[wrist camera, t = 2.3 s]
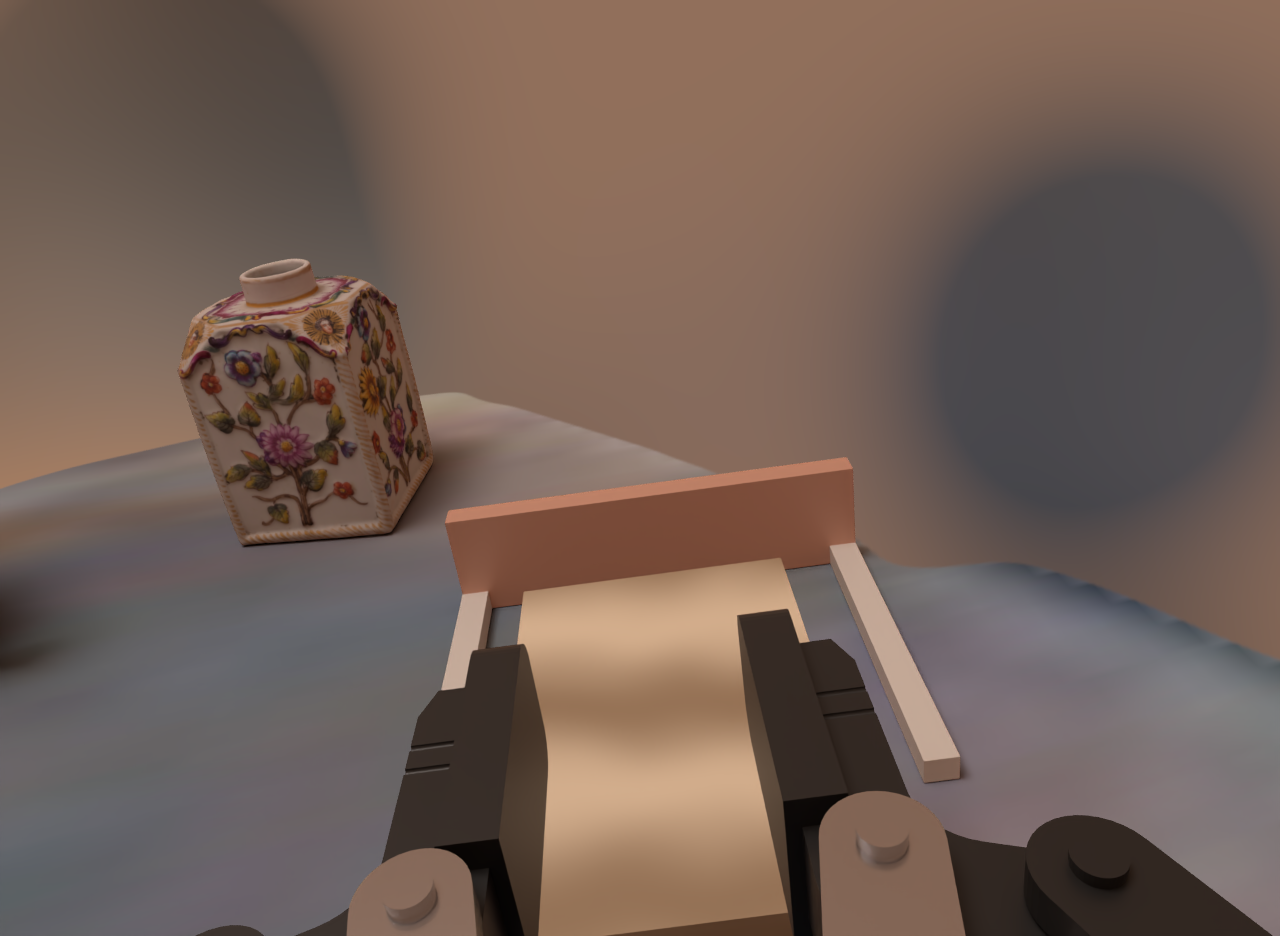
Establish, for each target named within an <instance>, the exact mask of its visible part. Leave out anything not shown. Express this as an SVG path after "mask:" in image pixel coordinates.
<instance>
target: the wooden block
mask: <svg viewBox="0 0 1280 936" xmlns="http://www.w3.org/2000/svg"><path fill="white" fill-rule="evenodd" d="M780 609H788V610H789V612H790V615H791V618H792V621H793V624H794V627H795V630H796V633H797V637H798V640H799V643H803V642H809V639H808V636H807V633H806V630H805V627H804V624H803V621H802V619H801V616H800V613H799V610H798V607H797V604H796V601H795V598H794V595H793V592H792V589H791V586H790V583H789V580H788V577H787V574H786V572H785V569H784V566H783V563H782V560H781V558H774V559H767V560H759V561H752V562H744V563H737V564H729V565H721V566H714V567H706V568H699V569H691V570H684V571H676V572H669V573H661V574H654V575H646V576H639V577H631V578H624V579H616V580H609V581H601V582H594V583H586V584H578V585H571V586H563V587H556V588H548V589H541V590H533V591H526V592H524V594H523V602H522V610H521V619H520V627H519V636H518V644H524V645H525V646H526V649H527V652H528V655H529V660H530V664H531V669H532V673H533V678H534V682H535V687H536V691H537V696H538V700H539V705H540V709H541V714H542V718H543V723H544V728H545V734H546V741H547V751H548V782H547V799H546V816H545V832H544V849H543V866H542V882H541V899H540V916H539V932H538V936H793V934H792V929H791V924H790V920H789V915H788V910H787V906H786V901H785V896H784V892H783V887H782V883H781V878H780V873H779V869H778V864H777V859H776V855H775V850H774V845H773V841H772V836H771V831H770V827H769V822H768V817H767V813H766V808H765V803H764V799H763V794H762V790H761V785H760V780H759V776H758V771H757V766H756V762H755V757H754V752H753V748H752V743H751V738H750V732H749V726H748V719H747V712H746V704H745V695H744V685H743V675H742V666H741V656H740V646H739V636H738V625H737V615H742V614H750V613H757V612H765V611H772V610H780ZM518 644H517V645H518Z"/></svg>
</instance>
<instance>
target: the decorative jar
mask: <svg viewBox="0 0 1280 936" xmlns="http://www.w3.org/2000/svg"><path fill="white" fill-rule="evenodd" d="M240 283H241V286H242V289H243V291H242V292H239V293H237V294H234V295H232V296H231V297H228V298H225V299H222V300H220V301H219V302H217V303H215V304H213V305H211V306H209V307H208V308H206V309H204V310H203V311H201V312H200V313H198V314H197V315H196V316H195V317H194V318H193V319H192V322H191V325H190V329H189V332H188V336H187V339H186V343H185V347H184V350H183V353H182V357H181V363H180V366H179V369H178V373H179V376H180V380H181V383H182V386H183V388H184V391H185V394H186V397H187V400H188V402H189V406H190V409H191V411H192V415H193V417H194V420H195V423H196V426H197V429H198V432H199V435H200V437H201V440H202V443H203V446H204V449H205V452H206V454H207V457H208V460H209V463H210V465H211V468H212V471H213V473H214V476H215V479H216V482H217V484H218V487H219V490H220V492H221V495H222V497H223V501H224V503H225V506H226V508H227V511H228V513H229V516H230V519H231V521H232V524H233V526H234V529H235V531H236V533H237V536H238V539H239V541H240V543H241V544H242V545H249V544H262V543H277V542H288V541H302V540H314V539H329V538H342V537H354V536H365V535H374V534H385V533H390V532H391V531H392V530H393V528H394V527H395V525H396V524H397V522H398V520H399V518H400V517H401V515H402V513H403V512H404V510H405V508H406V507H407V505H408V504H409V502H410V500H411V498H412V497H413V495H414V493H415V492H416V490H417V489H418V487H419V485H420V483H421V482H422V480H423V479H424V477H425V475H426V473H427V472H428V470H429V469H430V467H431V465H432V463H433V452H432V447H431V442H430V438H429V434H428V430H427V425H426V421H425V417H424V413H423V409H422V405H421V401H420V397H419V393H418V390H417V386H416V381H415V377H414V374H413V370H412V366H411V362H410V358H409V355H408V351H407V348H406V344H405V341H404V337H403V333H402V329H401V325H400V321H399V317H398V312H397V310H396V309H397V305H396V304H394V303H393V302H391V301H390V300H389V299H388V298H387V296H385V295H384V294H383V293H382V292H380V291H379V290H377V289H376V288H375V287H374V286H373V285H372V284H370V283H368V282H366V281H362V280H360V279H357V278H354V277H348V276H331V277H314V275H313V271H312V269H311V265H310V263H309V262H308V261H307V260H303V259H288V260H282V261H277V262H272V263H268V264H264V265H261V266H258V267H255V268H252V269H250V270H248V271H247V272H245V273H243V274H241V275H240Z"/></svg>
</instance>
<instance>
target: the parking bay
mask: <svg viewBox="0 0 1280 936" xmlns="http://www.w3.org/2000/svg"><path fill="white" fill-rule="evenodd" d="M445 525H446V529H447V533H448V537H449V541H450V545H451V549H452V553H453V557H454V561H455V565H456V569H457V573H458V577H459V581H460V585H461V589H462V593H463V596H462V600H461V605H460V609H459V614H458V618H457V623H456V627H455V632H454V636H453V641H452V645H451V650H450V654H449V659H448V663H447V668H446V672H445V677H444V681H443V685H442V690H449V689H456V688H464V687H465V682H466V677H467V672H468V666H469V661H470V656H471V653H472V651H473V650H480V649H485V648H486V642H487V636H488V630H489V624H490V619H491V613H492V608H497V607H505V606H512V605H520V604H522V602H523V594H524V592H526V591H533V590H541V589H548V588H556V587H563V586H571V585H578V584H586V583H594V582H601V581H609V580H616V579H624V578H631V577H639V576H646V575H654V574H661V573H669V572H676V571H684V570H691V569H699V568H706V567H714V566H721V565H729V564H737V563H744V562H752V561H759V560H767V559H774V558H781V560H782V563H783V566H784V569H792V568H799V567H807V566H814V565H822V564H829V563H830V564H831V566H832V568H833V571H834V573H835V575H836V578H837V580H838V583H839V585H840V587H841V590H842V592H843V594H844V597H845V599H846V601H847V604H848V606H849V608H850V611H851V613H852V615H853V618H854V620H855V622H856V625H857V627H858V629H859V632H860V634H861V636H862V639H863V641H864V644H865V646H866V648H867V651H868V653H869V655H870V658H871V660H872V662H873V665H874V667H875V669H876V672H877V674H878V676H879V679H880V681H881V683H882V686H883V688H884V690H885V693H886V695H887V697H888V700H889V702H890V705H891V707H892V709H893V712H894V714H895V716H896V719H897V721H898V723H899V726H900V728H901V730H902V733H903V735H904V737H905V740H906V742H907V744H908V747H909V749H910V751H911V754H912V756H913V758H914V761H915V763H916V766H917V768H918V770H919V773H920V775H921V777H922V780H923V782H924V783H928V782H935V781H943V780H951V779H959V778H960V755H959V753H958V751H957V749H956V747H955V745H954V743H953V741H952V739H951V737H950V735H949V733H948V731H947V729H946V727H945V725H944V723H943V721H942V718H941V716H940V714H939V712H938V710H937V708H936V706H935V704H934V702H933V700H932V698H931V696H930V694H929V692H928V690H927V688H926V686H925V684H924V682H923V680H922V678H921V676H920V674H919V672H918V669H917V667H916V665H915V663H914V661H913V659H912V657H911V655H910V653H909V651H908V649H907V647H906V645H905V643H904V641H903V639H902V637H901V635H900V633H899V631H898V629H897V627H896V625H895V623H894V620H893V618H892V616H891V614H890V612H889V610H888V608H887V606H886V604H885V602H884V600H883V598H882V596H881V594H880V592H879V590H878V588H877V586H876V584H875V582H874V580H873V578H872V576H871V574H870V571H869V569H868V567H867V565H866V563H865V561H864V559H863V557H862V555H861V553H860V551H859V549H858V547H857V545H856V543H855V519H854V489H853V468H852V466H851V465H850V463H849V461H848V459H847V457H844V458H838V459H829V460H822V461H814V462H807V463H799V464H792V465H785V466H777V467H770V468H762V469H755V470H748V471H740V472H733V473H725V474H717V475H710V476H703V477H695V478H688V479H680V480H673V481H665V482H658V483H650V484H643V485H635V486H628V487H621V488H613V489H606V490H598V491H591V492H583V493H576V494H568V495H561V496H553V497H546V498H539V499H531V500H524V501H516V502H509V503H501V504H494V505H486V506H479V507H471V508H464V509H457V510H449V511H448V514H447V518H446V521H445Z"/></svg>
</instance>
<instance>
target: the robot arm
mask: <svg viewBox="0 0 1280 936" xmlns="http://www.w3.org/2000/svg"><path fill="white" fill-rule="evenodd" d="M737 625H738V636H739V646H740V656H741V666H742V675H743V685H744V695H745V704H746V712H747V719H748V726H749V732H750V738H751V743H752V748H753V752H754V757H755V762H756V766H757V771H758V776H759V780H760V785H761V790H762V794H763V799H764V803H765V808H766V813H767V817H768V822H769V827H770V831H771V836H772V841H773V845H774V850H775V855H776V859H777V864H778V869H779V873H780V878H781V883H782V887H783V892H784V896H785V901H786V906H787V910H788V915H789V920H790V924H791V929H792V934H793V936H1272V935H1271V934H1270V933H1268V932H1267V931H1266V930H1264V929H1263V928H1262V927H1261V926H1259V925H1258V924H1257V923H1255V922H1254V921H1253V920H1251V919H1250V918H1249V917H1247V916H1246V915H1245V914H1244V913H1242V912H1241V911H1240V910H1238V909H1237V908H1236V907H1234V906H1233V905H1232V904H1230V903H1229V902H1228V901H1227V900H1225V899H1224V898H1223V897H1221V896H1220V895H1219V894H1217V893H1216V892H1215V891H1213V890H1212V889H1211V888H1210V887H1208V886H1207V885H1206V884H1204V883H1203V882H1202V881H1200V880H1199V879H1198V878H1196V877H1195V876H1194V875H1193V874H1191V873H1190V872H1189V871H1187V870H1186V869H1185V868H1183V867H1182V866H1181V865H1179V864H1178V863H1177V862H1176V861H1174V860H1173V859H1172V858H1170V857H1169V856H1168V855H1166V854H1165V853H1164V852H1162V851H1161V850H1160V849H1159V848H1157V847H1156V846H1155V845H1153V844H1152V843H1151V842H1149V841H1148V840H1147V839H1145V838H1144V837H1143V836H1141V835H1140V834H1138V833H1137V832H1135V831H1133V830H1131V829H1129V828H1128V827H1126V826H1124V825H1121V824H1119V823H1116V822H1113V821H1111V820H1107V819H1103V818H1099V817H1093V816H1083V815H1073V816H1064V817H1060V818H1056V819H1053V820H1051V821H1049V822H1046V823H1045V824H1043V825H1042V826H1040V827H1039V828H1038V829H1037V830H1036V831H1035V832H1034V833H1033V834H1032V836H1031V837H1030V839H1029V841H1028V844H1027V848H1025V847H1018V846H1010V845H1003V844H996V843H989V842H982V841H977V840H972V839H968V838H965V837H962V836H958V835H956V834H953V833H951V832H949V831H947V830H945V829H944V828H943V826H942V824H941V823H940V821H939V820H938V819H937V817H936V816H935V815H934V814H933V813H932V812H931V811H930V810H929V809H928V808H927V807H925V806H924V805H922V804H921V803H919V802H917V801H915V800H913V799H911V798H910V796H909V794H908V792H907V789H906V787H905V784H904V782H903V779H902V777H901V774H900V772H899V769H898V767H897V764H896V762H895V759H894V757H893V755H892V752H891V750H890V747H889V745H888V742H887V740H886V737H885V735H884V732H883V730H882V727H881V725H880V722H879V720H878V717H877V715H876V713H875V712H874V707H873V705H872V702H871V700H870V697H869V695H868V692H866V689H865V685H864V682H863V680H862V677H861V675H860V672H859V670H858V667H857V665H856V662H855V660H854V659H853V658H852V657H851V656H850V655H848V654H847V653H846V652H845V651H844V650H843V649H842V648H840V647H839V646H838V645H837V644H836V643H835V642H834V641H832V640H831V639H826V640H819V641H811V642H803V643H799V640H798V637H797V633H796V630H795V627H794V624H793V621H792V618H791V615H790V612H789V610H788V609H780V610H772V611H765V612H757V613H750V614H742V615H737ZM405 771H406V775H404V776H403V780H402V784H401V788H400V792H399V796H398V800H397V804H396V808H395V812H394V816H393V820H392V824H391V828H390V832H389V836H388V841H387V845H386V849H385V853H384V857H383V861H382V864H381V865H380V866H378V867H377V868H376V869H375V870H373V871H372V872H371V873H370V874H369V875H368V876H367V877H366V878H365V879H364V880H363V882H362V883H361V884H360V886H359V887H358V888H357V890H356V892H355V894H354V896H353V898H352V900H351V903H350V906H349V908H348V909H347V910H345V911H344V912H343V913H341V914H340V915H338V916H337V917H335V918H333V919H332V920H330V921H328V922H326V923H324V924H322V925H320V926H318V927H316V928H313V929H311V930H308V931H306V932H303V933H301V934H298V935H296V936H538V932H539V916H540V899H541V882H542V866H543V849H544V832H545V816H546V799H547V782H548V751H547V741H546V734H545V728H544V723H543V718H542V714H541V709H540V705H539V700H538V696H537V691H536V687H535V682H534V678H533V673H532V669H531V664H530V660H529V655H528V652H527V649H526V646H525V645H524V644H518V645H510V646H503V647H495V648H487V649H480V650H473V651H472V653H471V656H470V661H469V666H468V672H467V677H466V682H465V687H464V688H456V689H449V690H441V691H438V692H437V694H436V695H435V696H434V698H433V699H432V700H431V701H430V703H429V704H428V705H427V707H426V708H425V709H424V711H423V712H422V713H421V714H420V716H419V717H418V720H417V724H416V728H415V732H414V736H413V740H412V744H411V751H410V752H409V756H408V760H407V764H406V768H405ZM196 936H264V935H263V934H261V933H260V932H259V931H257V930H255V929H253V928H250V927H246V926H241V925H230V926H223V927H218V928H215V929H211V930H208V931H206V932H203V933H201V934H198V935H196Z"/></svg>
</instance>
